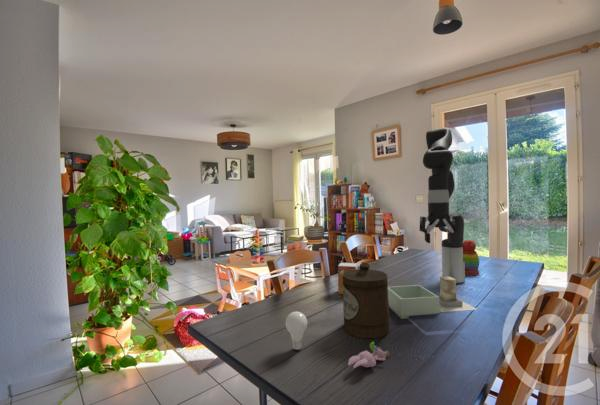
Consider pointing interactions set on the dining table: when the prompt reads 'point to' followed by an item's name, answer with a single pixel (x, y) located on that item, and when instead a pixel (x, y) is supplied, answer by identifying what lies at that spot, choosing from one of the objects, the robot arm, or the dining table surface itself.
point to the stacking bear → (470, 258)
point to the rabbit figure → (368, 357)
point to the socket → (454, 305)
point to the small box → (341, 269)
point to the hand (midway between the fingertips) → (438, 242)
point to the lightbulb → (296, 328)
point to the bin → (412, 301)
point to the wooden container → (366, 302)
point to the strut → (448, 288)
